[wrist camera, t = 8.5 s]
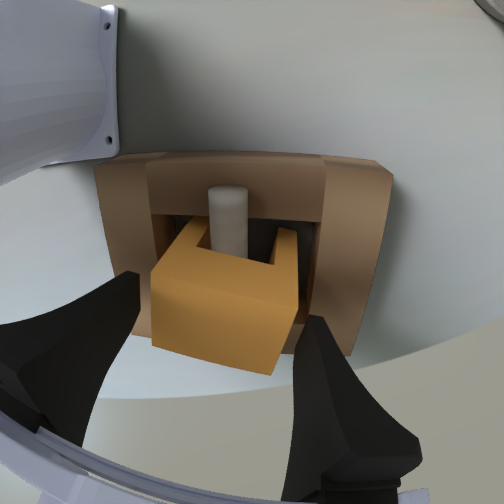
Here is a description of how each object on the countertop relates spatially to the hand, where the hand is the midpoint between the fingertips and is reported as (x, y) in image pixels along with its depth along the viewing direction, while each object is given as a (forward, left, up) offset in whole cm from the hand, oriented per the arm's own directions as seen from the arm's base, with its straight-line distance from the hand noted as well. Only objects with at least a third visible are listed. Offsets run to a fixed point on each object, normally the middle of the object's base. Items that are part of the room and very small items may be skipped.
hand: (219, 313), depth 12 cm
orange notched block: (0, 0, -6) cm, 6 cm away
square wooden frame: (0, 0, -6) cm, 6 cm away
